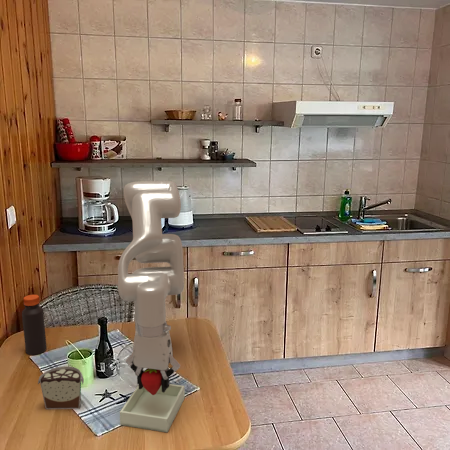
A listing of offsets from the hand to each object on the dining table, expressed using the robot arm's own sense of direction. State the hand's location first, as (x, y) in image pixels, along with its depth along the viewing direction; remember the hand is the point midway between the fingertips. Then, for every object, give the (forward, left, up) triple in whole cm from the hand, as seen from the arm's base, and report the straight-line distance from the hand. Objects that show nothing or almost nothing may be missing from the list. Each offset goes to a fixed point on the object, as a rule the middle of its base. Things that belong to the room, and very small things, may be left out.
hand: (153, 387), depth 123 cm
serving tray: (0, 0, -7) cm, 7 cm away
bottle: (-22, -52, -8) cm, 57 cm away
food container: (+2, -26, -8) cm, 27 cm away
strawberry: (0, 0, -2) cm, 2 cm away
